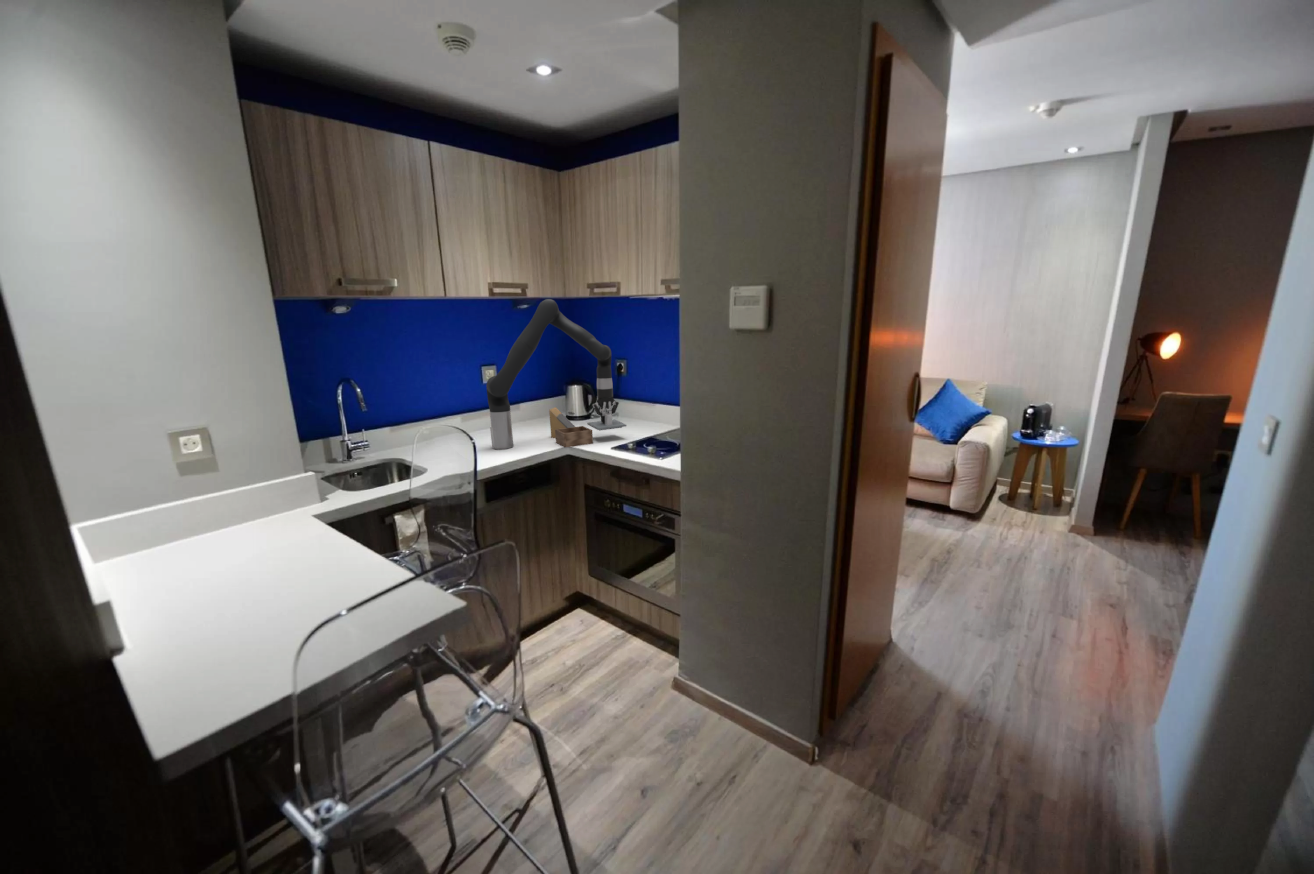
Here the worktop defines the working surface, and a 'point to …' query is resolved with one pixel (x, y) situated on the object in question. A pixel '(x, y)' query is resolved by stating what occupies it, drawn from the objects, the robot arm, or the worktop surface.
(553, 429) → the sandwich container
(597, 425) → the lid
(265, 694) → the worktop surface
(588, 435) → the box
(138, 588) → the worktop surface
